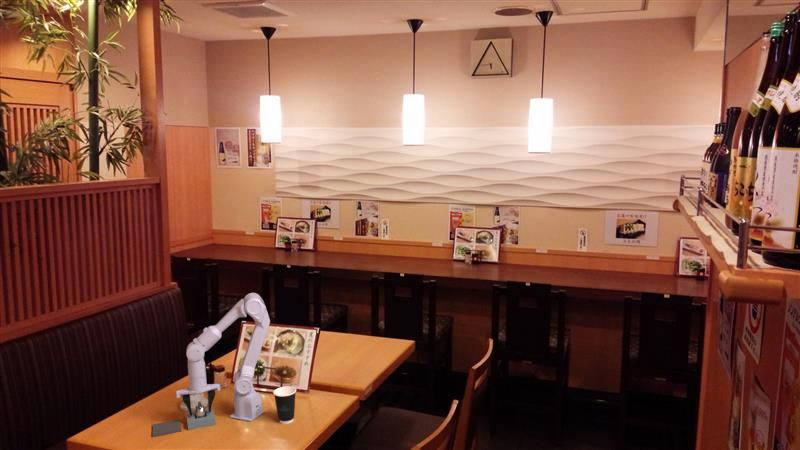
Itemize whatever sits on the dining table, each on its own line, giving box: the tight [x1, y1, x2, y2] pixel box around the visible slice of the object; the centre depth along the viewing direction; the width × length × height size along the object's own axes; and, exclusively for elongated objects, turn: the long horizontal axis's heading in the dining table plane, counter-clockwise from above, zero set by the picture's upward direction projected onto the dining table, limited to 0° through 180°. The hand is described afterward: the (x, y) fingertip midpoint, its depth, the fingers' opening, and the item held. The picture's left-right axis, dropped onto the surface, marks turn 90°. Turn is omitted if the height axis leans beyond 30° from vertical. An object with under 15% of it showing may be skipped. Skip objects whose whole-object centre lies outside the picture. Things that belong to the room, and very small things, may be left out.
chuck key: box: [195, 401, 206, 419], centre depth 209 cm, size 3×6×7 cm, turn 22°
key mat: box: [152, 418, 182, 438], centre depth 205 cm, size 9×9×1 cm
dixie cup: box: [272, 386, 297, 425], centre depth 207 cm, size 8×8×11 cm
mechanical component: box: [179, 393, 208, 412], centre depth 223 cm, size 10×4×10 cm
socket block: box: [186, 407, 216, 431], centre depth 209 cm, size 9×9×2 cm
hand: (200, 412), depth 209 cm, fingers open, 6 cm apart
